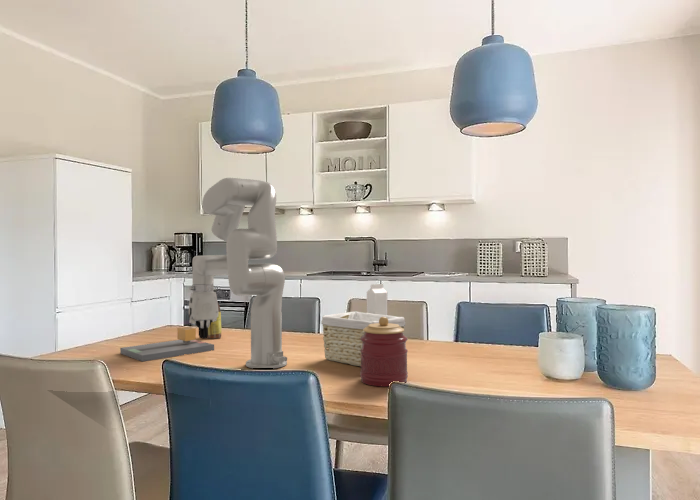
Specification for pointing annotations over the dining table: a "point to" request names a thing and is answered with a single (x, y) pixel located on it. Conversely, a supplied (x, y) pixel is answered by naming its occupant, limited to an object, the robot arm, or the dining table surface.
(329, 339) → the storage basket
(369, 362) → the canister
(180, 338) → the switch knob
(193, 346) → the switch board
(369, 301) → the milk
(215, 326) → the sauce bottle
